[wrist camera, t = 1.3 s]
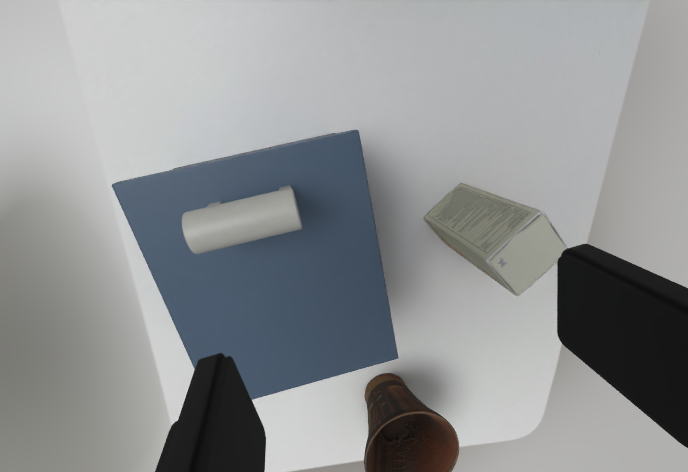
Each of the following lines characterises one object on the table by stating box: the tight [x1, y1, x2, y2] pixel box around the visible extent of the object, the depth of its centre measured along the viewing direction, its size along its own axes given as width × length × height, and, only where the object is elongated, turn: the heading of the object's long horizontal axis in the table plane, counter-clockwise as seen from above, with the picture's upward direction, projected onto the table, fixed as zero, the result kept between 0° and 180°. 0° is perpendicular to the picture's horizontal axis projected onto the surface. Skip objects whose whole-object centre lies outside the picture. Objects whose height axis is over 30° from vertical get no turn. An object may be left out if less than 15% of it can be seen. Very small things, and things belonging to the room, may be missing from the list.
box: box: [424, 183, 568, 296], centre depth 29 cm, size 5×4×11 cm
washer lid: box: [112, 130, 398, 400], centre depth 20 cm, size 16×14×6 cm
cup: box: [364, 374, 459, 472], centre depth 35 cm, size 9×9×10 cm
